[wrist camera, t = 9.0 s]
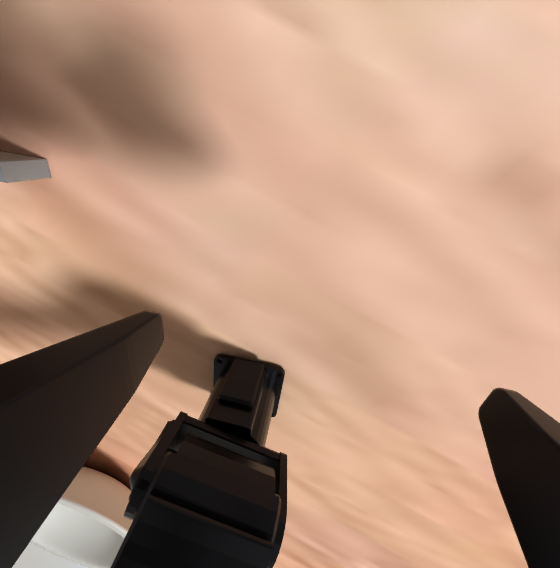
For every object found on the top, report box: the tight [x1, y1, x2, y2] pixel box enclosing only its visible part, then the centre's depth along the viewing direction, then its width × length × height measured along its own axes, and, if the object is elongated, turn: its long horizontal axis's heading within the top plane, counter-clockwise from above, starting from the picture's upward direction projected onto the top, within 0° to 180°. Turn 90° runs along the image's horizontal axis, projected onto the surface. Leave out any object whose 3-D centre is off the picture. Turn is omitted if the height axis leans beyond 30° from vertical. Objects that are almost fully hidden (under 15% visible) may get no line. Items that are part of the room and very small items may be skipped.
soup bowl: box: [30, 467, 133, 568], centre depth 39 cm, size 24×24×7 cm
